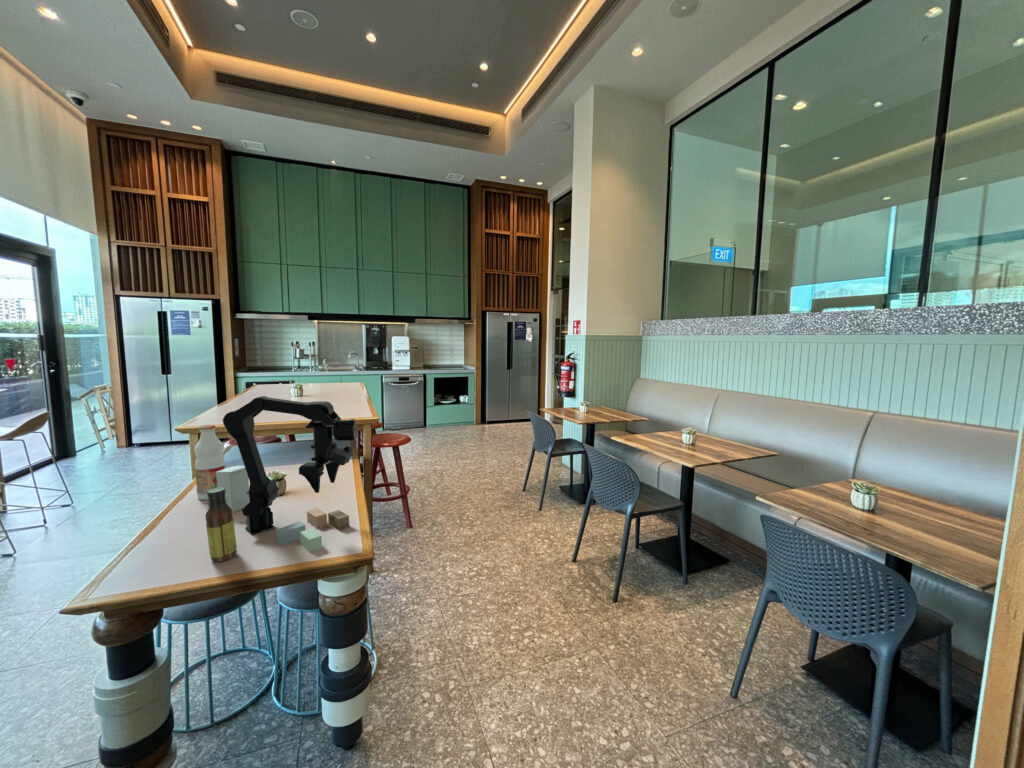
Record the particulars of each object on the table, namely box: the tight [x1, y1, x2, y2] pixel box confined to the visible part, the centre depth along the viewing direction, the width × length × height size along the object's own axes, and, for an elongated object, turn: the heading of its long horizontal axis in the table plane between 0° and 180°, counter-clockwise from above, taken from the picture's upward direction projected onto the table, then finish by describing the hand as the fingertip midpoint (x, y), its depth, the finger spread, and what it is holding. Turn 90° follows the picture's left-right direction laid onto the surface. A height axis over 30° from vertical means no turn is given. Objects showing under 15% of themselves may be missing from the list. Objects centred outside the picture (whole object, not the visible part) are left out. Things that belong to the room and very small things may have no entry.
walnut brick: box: [327, 509, 350, 531], centre depth 135 cm, size 7×4×4 cm, turn 50°
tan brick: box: [306, 507, 328, 529], centre depth 136 cm, size 7×4×4 cm, turn 48°
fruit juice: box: [193, 424, 226, 501], centre depth 158 cm, size 9×9×28 cm
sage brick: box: [299, 527, 323, 553], centre depth 121 cm, size 7×4×4 cm, turn 47°
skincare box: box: [216, 465, 250, 514], centre depth 148 cm, size 8×6×15 cm
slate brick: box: [276, 521, 306, 546], centre depth 125 cm, size 7×4×4 cm, turn 140°
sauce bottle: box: [204, 488, 238, 563], centre depth 114 cm, size 7×6×20 cm
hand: (325, 487), depth 133 cm, fingers open, 9 cm apart
